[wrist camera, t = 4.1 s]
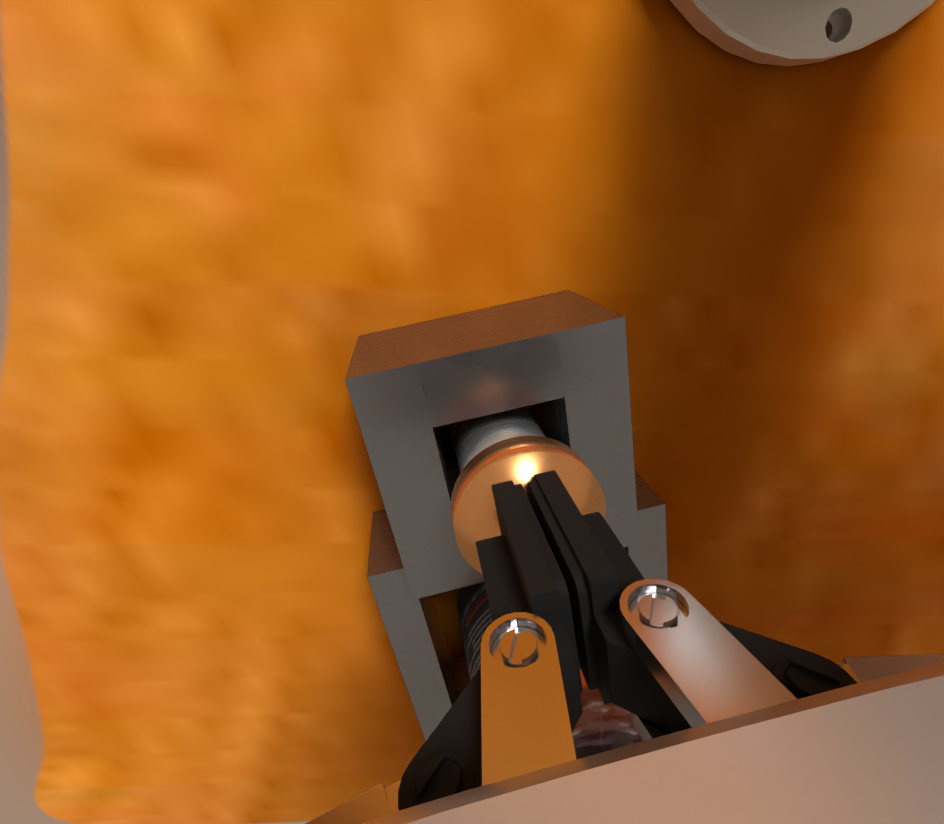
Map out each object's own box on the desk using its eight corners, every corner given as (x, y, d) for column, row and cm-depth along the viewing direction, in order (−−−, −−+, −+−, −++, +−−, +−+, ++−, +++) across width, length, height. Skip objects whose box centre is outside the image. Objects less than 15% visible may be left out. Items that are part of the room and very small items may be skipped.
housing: (318, 344, 18) (290, 391, 13) (607, 281, 18) (676, 305, 14) (457, 773, 28) (469, 882, 24) (640, 724, 29) (685, 821, 24)
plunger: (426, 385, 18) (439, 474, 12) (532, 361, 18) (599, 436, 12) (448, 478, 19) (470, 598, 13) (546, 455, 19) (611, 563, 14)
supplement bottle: (458, 634, 24) (502, 953, 14) (450, 535, 22) (497, 829, 11) (575, 617, 25) (701, 909, 14) (579, 519, 22) (733, 783, 12)
